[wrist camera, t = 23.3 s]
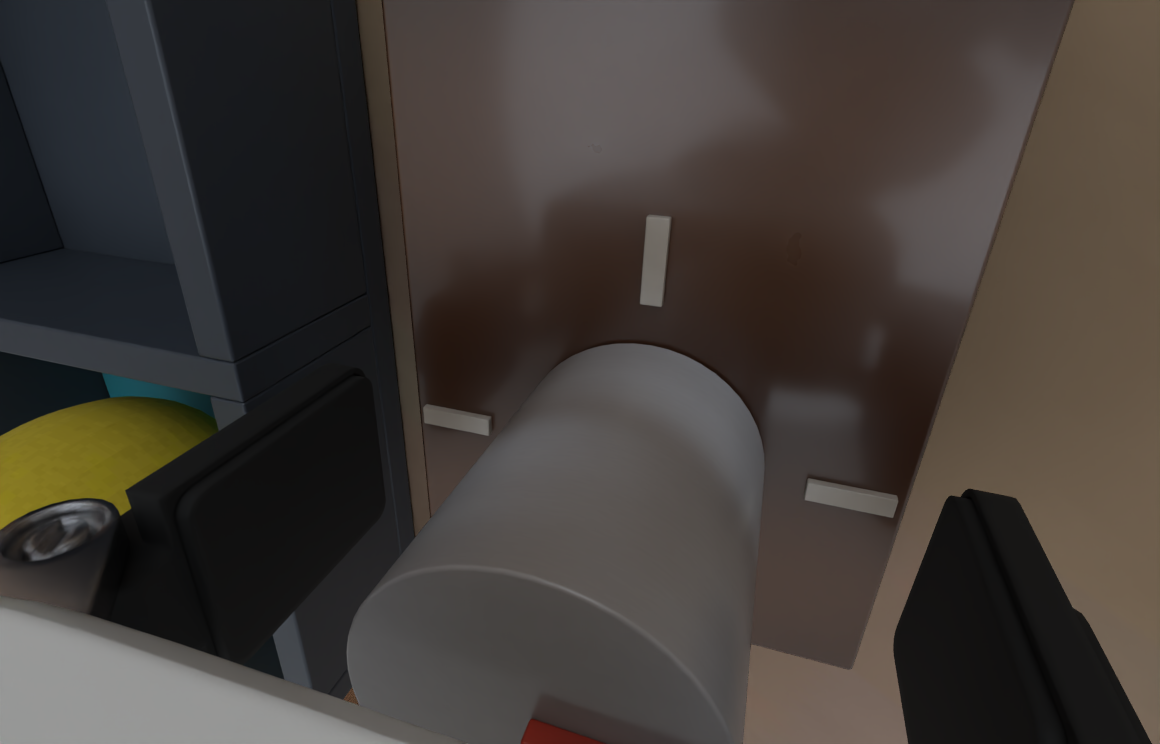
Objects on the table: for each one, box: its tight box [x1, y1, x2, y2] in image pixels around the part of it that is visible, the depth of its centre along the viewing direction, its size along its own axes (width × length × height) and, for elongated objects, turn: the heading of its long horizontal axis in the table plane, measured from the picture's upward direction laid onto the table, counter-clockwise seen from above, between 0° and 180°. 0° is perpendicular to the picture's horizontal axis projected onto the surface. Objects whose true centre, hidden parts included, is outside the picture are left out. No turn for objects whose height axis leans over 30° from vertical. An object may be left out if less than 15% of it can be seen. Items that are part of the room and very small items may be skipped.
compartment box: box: [0, 0, 414, 700], centre depth 14 cm, size 19×10×5 cm, turn 178°
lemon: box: [0, 396, 219, 530], centre depth 14 cm, size 6×6×8 cm
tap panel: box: [382, 0, 1075, 670], centre depth 12 cm, size 12×9×3 cm
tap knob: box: [346, 343, 765, 744], centre depth 9 cm, size 4×4×6 cm
